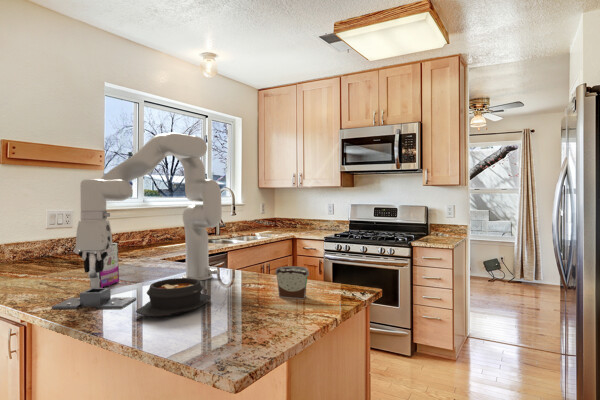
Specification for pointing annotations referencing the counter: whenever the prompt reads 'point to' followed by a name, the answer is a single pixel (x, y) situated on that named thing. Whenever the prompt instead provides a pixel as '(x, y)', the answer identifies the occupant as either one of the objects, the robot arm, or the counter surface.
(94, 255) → the pin
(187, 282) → the casserole
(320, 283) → the counter surface
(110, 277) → the candy bar box
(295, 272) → the food container
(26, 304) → the counter surface
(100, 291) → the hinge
